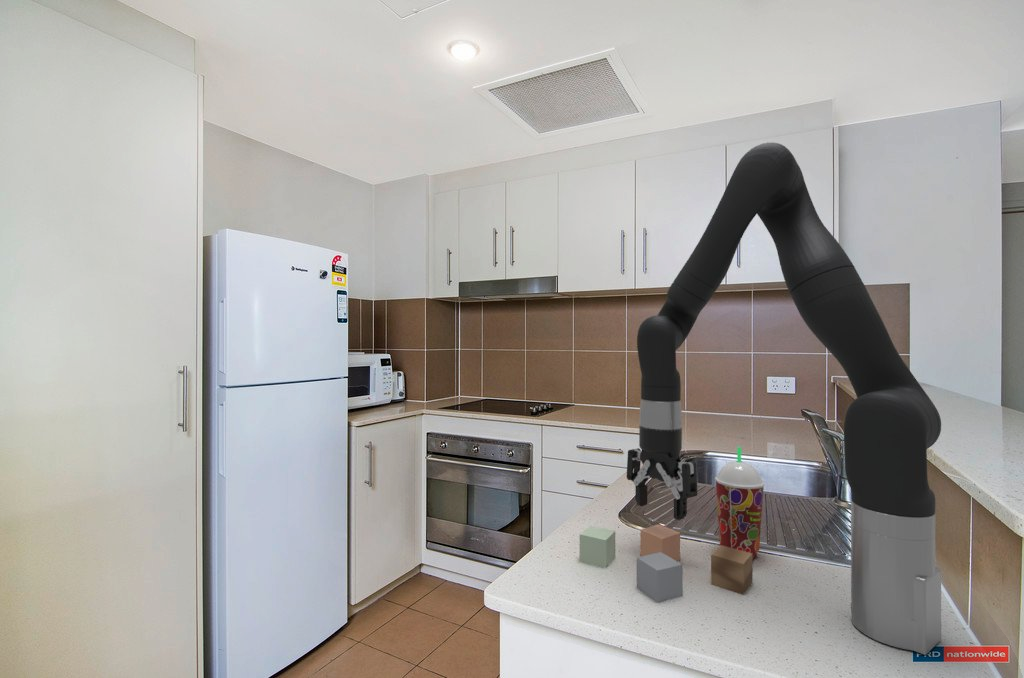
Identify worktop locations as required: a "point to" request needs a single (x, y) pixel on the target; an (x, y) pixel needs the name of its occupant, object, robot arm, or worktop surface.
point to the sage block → (597, 546)
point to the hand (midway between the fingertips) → (659, 511)
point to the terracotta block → (660, 541)
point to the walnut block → (732, 569)
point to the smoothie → (739, 505)
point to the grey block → (659, 577)
